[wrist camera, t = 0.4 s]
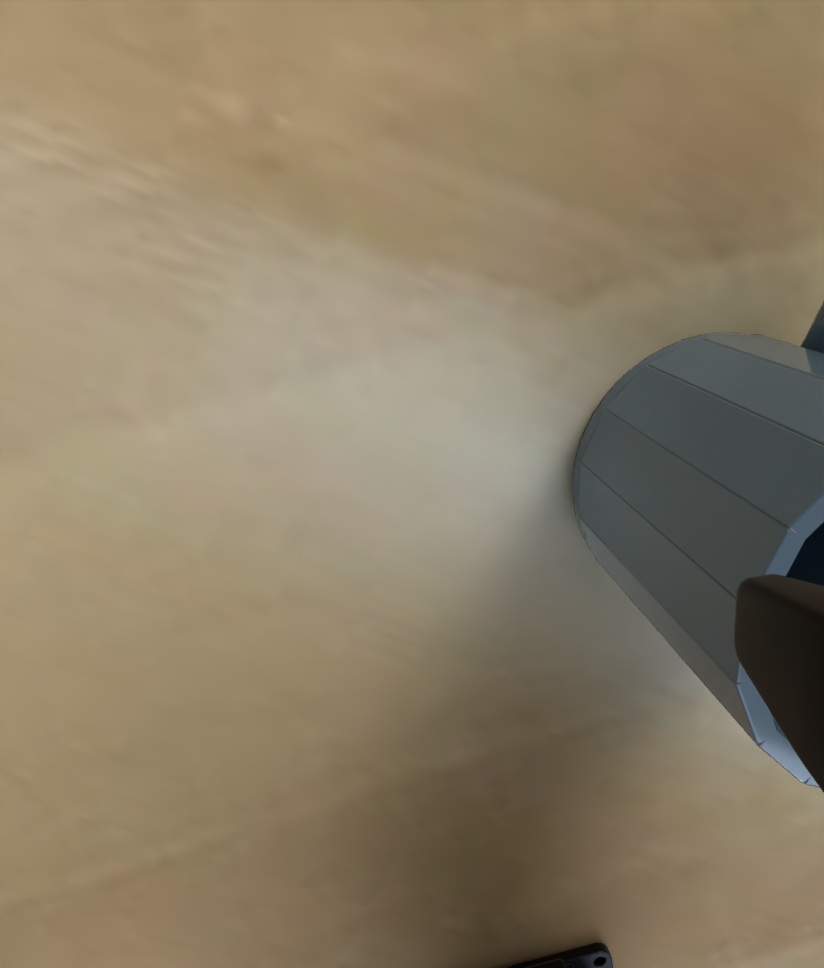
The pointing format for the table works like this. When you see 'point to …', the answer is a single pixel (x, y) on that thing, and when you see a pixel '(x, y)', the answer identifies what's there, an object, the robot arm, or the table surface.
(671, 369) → the mug
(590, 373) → the table surface
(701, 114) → the table surface
